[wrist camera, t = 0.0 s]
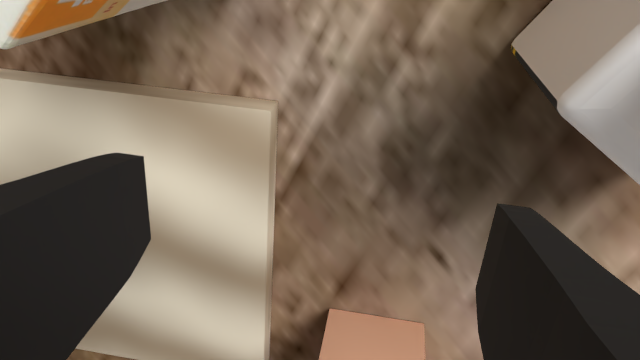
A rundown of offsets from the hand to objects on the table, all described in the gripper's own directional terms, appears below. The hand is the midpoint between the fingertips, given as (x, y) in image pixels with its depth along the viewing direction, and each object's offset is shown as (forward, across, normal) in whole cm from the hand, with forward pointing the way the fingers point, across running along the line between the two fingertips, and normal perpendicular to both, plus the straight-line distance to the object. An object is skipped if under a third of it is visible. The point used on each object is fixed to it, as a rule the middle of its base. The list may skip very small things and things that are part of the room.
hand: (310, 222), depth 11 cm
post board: (+10, +10, +8) cm, 16 cm away
